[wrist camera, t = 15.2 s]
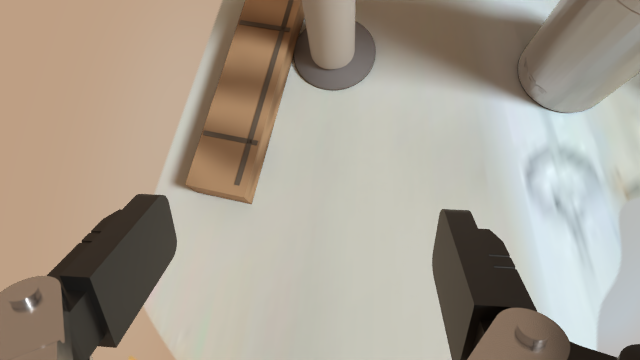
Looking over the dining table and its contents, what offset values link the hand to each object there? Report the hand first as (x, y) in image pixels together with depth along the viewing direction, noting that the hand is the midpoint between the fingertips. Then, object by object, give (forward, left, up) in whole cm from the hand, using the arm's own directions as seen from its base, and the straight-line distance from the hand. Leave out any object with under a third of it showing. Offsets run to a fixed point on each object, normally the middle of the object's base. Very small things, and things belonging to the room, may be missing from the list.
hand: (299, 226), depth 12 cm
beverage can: (-8, -22, -27) cm, 36 cm away
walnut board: (+2, -21, -27) cm, 34 cm away
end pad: (-8, -22, -27) cm, 36 cm away
